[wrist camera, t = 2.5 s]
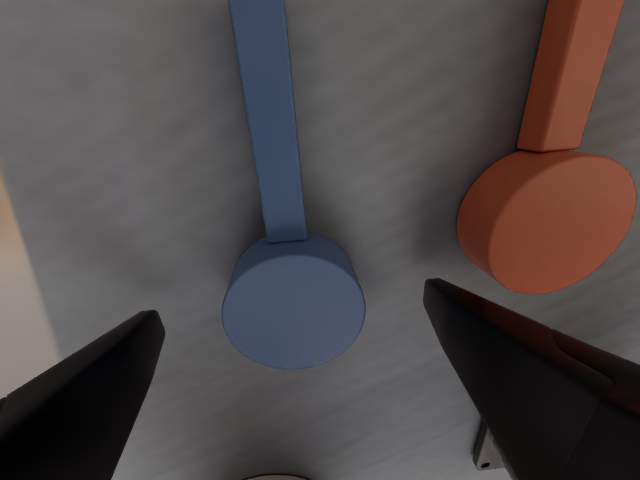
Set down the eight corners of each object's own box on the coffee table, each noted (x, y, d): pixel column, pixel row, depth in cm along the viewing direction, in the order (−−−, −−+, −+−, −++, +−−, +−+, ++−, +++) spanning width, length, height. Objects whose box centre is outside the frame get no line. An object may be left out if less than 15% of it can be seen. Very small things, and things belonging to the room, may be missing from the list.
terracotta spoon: (557, 261, 11) (604, 287, 9) (448, 272, 11) (476, 302, 9) (688, -132, 6) (821, -212, 5) (506, -126, 6) (583, -210, 5)
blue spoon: (355, 325, 11) (365, 361, 10) (244, 338, 11) (236, 377, 9) (348, -4, 7) (367, -40, 5) (165, 6, 7) (124, -29, 5)
